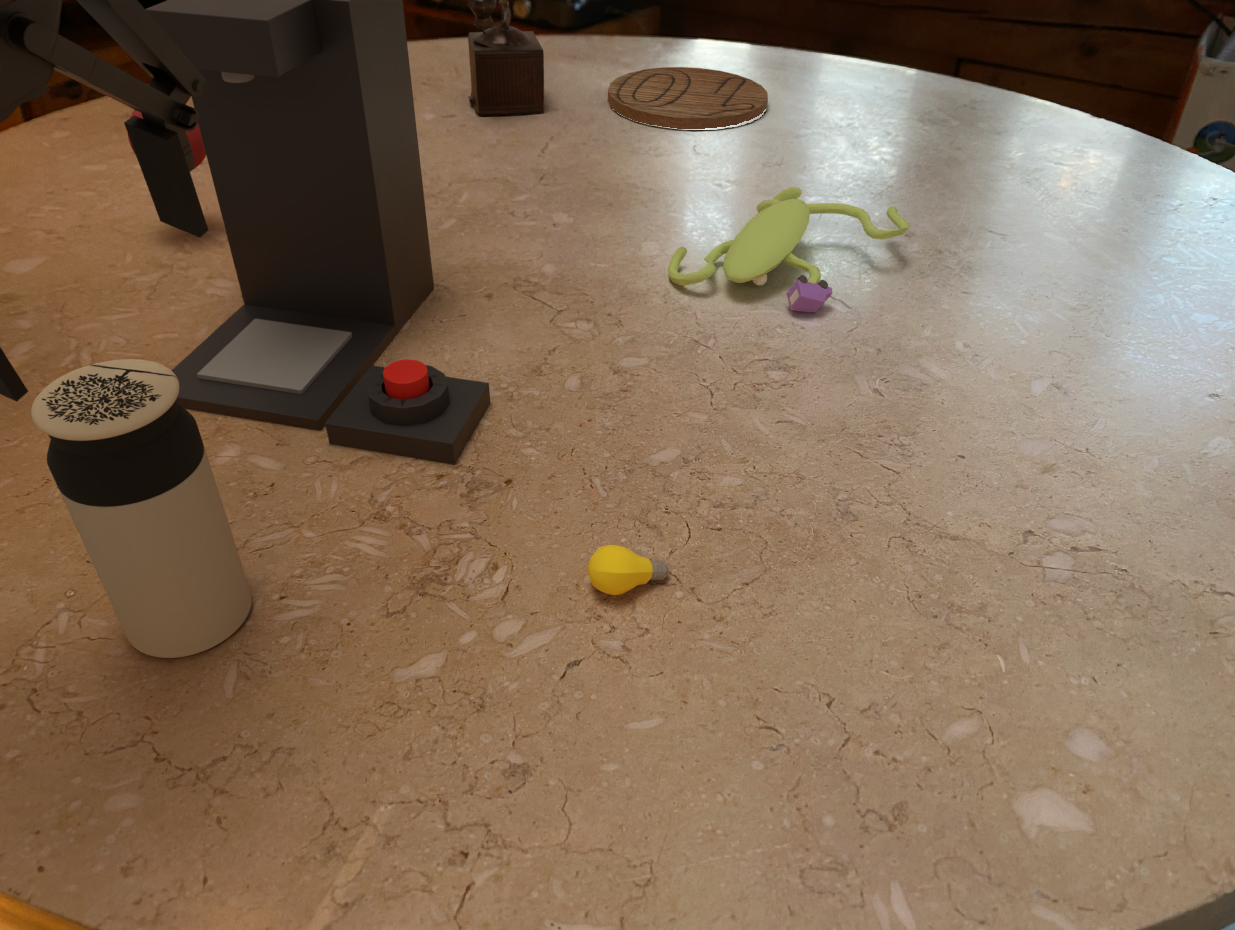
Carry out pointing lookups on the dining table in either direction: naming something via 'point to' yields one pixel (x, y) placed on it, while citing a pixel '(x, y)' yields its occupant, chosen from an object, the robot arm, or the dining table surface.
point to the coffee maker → (305, 198)
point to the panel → (410, 417)
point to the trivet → (687, 97)
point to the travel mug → (145, 504)
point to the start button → (406, 379)
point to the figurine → (780, 247)
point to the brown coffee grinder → (504, 64)
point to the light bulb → (622, 570)
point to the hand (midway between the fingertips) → (99, 300)
